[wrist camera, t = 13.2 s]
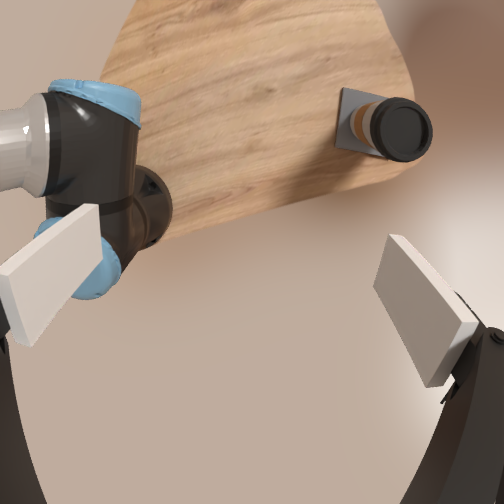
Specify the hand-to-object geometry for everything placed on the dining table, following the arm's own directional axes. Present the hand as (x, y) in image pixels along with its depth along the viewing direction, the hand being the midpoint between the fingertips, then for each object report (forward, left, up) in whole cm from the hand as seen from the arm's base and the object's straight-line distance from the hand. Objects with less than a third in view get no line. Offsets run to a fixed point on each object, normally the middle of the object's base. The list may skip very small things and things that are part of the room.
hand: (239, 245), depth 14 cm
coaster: (+18, +7, -39) cm, 43 cm away
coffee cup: (+18, +6, -38) cm, 43 cm away
